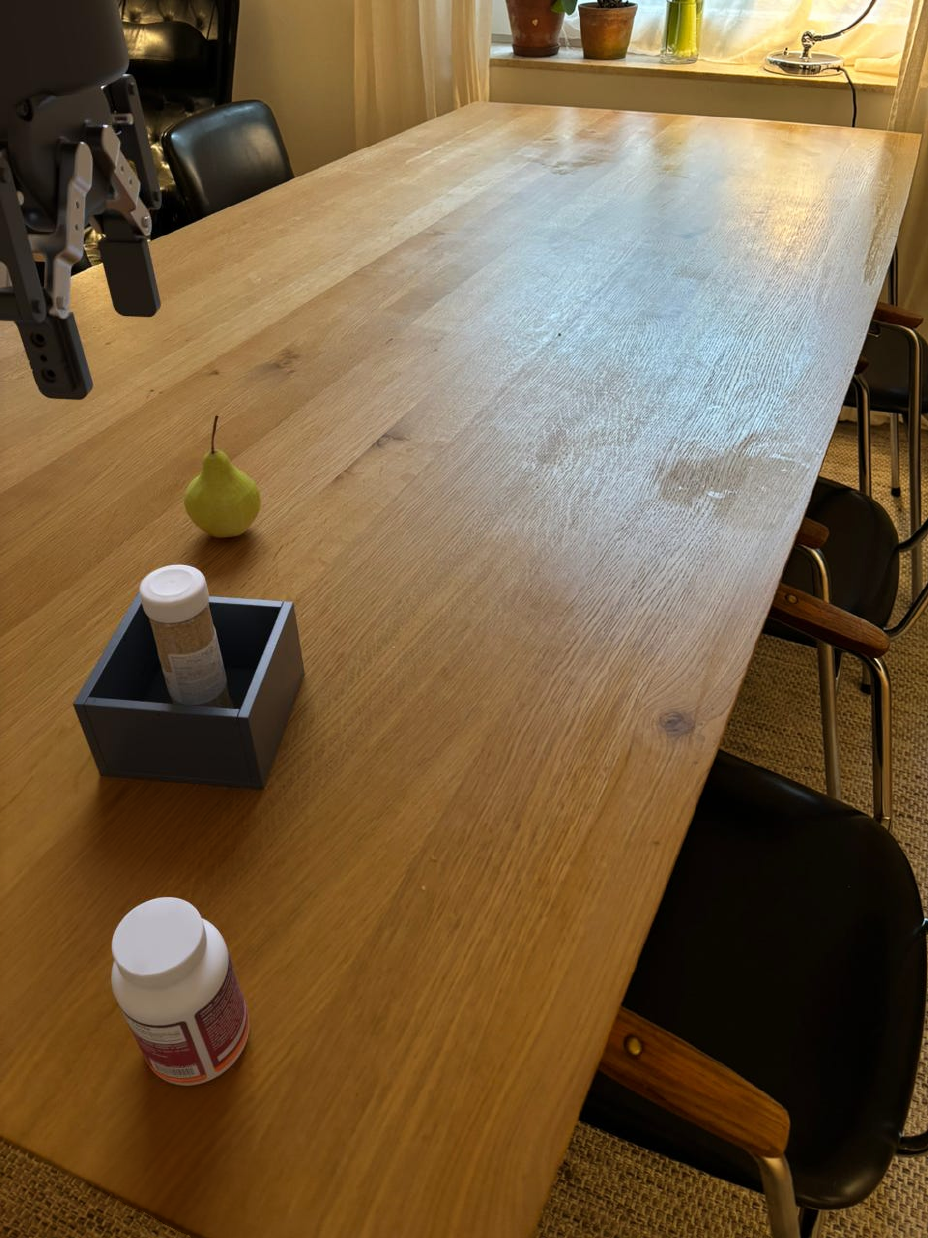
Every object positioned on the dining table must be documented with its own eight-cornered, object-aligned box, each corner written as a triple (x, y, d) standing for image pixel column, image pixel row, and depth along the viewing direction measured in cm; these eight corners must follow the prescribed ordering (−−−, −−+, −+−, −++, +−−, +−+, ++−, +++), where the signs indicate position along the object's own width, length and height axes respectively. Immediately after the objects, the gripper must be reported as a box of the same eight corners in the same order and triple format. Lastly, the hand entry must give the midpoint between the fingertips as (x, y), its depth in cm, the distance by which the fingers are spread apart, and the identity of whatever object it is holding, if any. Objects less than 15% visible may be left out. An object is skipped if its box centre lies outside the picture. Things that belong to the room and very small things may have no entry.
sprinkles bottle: (177, 699, 79) (140, 565, 70) (235, 692, 80) (205, 558, 71) (174, 741, 76) (135, 606, 67) (235, 733, 76) (203, 598, 68)
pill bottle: (228, 970, 62) (194, 865, 55) (267, 1052, 58) (237, 950, 51) (130, 1021, 59) (82, 918, 52) (164, 1111, 55) (117, 1013, 48)
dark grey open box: (99, 775, 74) (72, 704, 69) (158, 661, 83) (138, 590, 79) (263, 790, 73) (248, 718, 68) (304, 672, 82) (293, 601, 77)
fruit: (233, 560, 94) (210, 450, 86) (177, 540, 97) (151, 432, 89) (277, 523, 99) (260, 416, 91) (223, 505, 101) (202, 399, 93)
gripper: (-8, -86, 42) (90, 289, 52) (-225, -36, 31) (-46, 424, 42) (163, -86, 41) (228, 294, 52) (2, -34, 30) (126, 433, 41)
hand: (106, 352), depth 47 cm, fingers open, 8 cm apart
